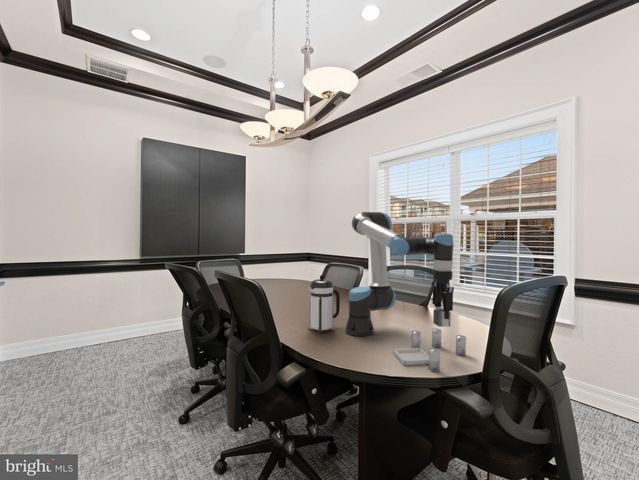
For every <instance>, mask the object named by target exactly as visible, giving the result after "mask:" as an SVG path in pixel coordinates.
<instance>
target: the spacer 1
mask: <svg viewBox="0 0 639 480" xmlns="http://www.w3.org/2000/svg"><path fill="white" fill-rule="evenodd" d="M421 338H422V331H419V330H415V329H414V330H411V348H421V344H422V343H421V342H422V339H421ZM421 349H422V348H421Z"/></svg>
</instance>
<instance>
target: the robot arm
mask: <svg viewBox="0 0 639 480" xmlns="http://www.w3.org/2000/svg"><path fill="white" fill-rule="evenodd" d="M392 226H393V222H392V219H391V217H390V216H389V215H388V214H387V213H385V212H380V211H378V212H376V211H375V212H374V211H362V212H358V213H356V214H355V215H354V217H352V220H351V227H352V228H353V230H354V231H355V232H356V233H358V234H359V235H361V236H366V238H367V239H368V240H369V251H370V271H371V283H370V284H369V287H368V286H357V287H353V288H352V289H350V290H349V293H348V318H347V321H346V323H345V330H344V331H345V333H346V334H348V335H350V336H353V337H354V336H356V337H369V336H372V335H373V334H374V332H375V330H374V329H375V328H374V325H373V321H372V318H371V317H372V315H371V314H372V312H374V311H381V310H382V311H384V310H388V309H391V308H392V307H394V305H395V304H396V300H397V294H396V292H395V290H394V288H392V286H391V284H390V283H389V281H388V263H387V262H388V260H387V248H388V249H389V251H390V252H391V254H392V255H394V256H411V255H412V256H414V255H429V256H433V269H434V270H433V275H432V277H433V279H434V280H435V281H432V283H431V285H432V300H431V301H432V302H431V303H432V305H434V309H443V310H442V326H447V327H450V326H449V312H451V311H454V289H455V288H454V286H450V285H451V284H450V281H451V280H453V264H454V262H453V256H454V255H453V254H454V245H455V244H454V236H453V234H452V233H435V234H434V235H433V237H423V236H422V237H421V236H420V237H406V236H403V235H402V234H399V233H397V232H395V231H393V230H391V229H392Z"/></svg>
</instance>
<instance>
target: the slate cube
mask: <svg viewBox="0 0 639 480" xmlns="http://www.w3.org/2000/svg"><path fill="white" fill-rule="evenodd" d="M442 310H443V308H442V309H435V308H434V309H433V319H432V320H433V322H432V323H433V324H434V325H435V326H438V328H439V327H440V328H441V327H443V328H444V327H451V319H452V317H451V316H452V315H451V314H452V312H451V311H449V326H442Z"/></svg>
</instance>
